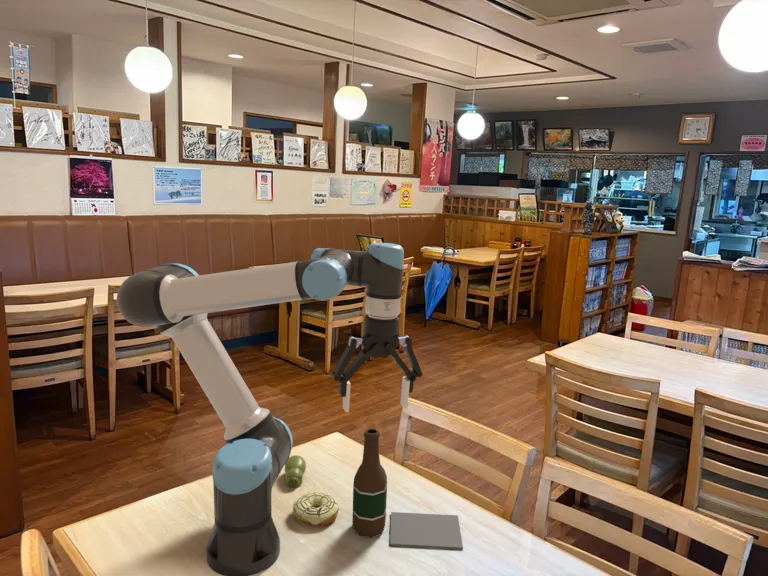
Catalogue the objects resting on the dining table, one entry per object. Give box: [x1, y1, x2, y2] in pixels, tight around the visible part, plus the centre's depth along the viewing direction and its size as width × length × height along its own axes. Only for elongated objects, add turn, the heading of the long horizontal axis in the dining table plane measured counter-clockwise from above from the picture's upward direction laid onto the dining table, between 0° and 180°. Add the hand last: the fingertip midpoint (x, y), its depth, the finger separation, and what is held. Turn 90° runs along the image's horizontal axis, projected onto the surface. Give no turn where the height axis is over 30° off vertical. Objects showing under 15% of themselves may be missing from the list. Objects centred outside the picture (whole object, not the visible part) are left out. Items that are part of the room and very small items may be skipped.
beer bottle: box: [351, 428, 388, 539], centre depth 127 cm, size 8×8×24 cm
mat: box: [389, 511, 464, 551], centre depth 129 cm, size 16×12×1 cm
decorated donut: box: [292, 491, 340, 527], centre depth 133 cm, size 10×11×4 cm
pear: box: [284, 454, 307, 488], centre depth 149 cm, size 6×5×10 cm
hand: (375, 408), depth 124 cm, fingers open, 13 cm apart
